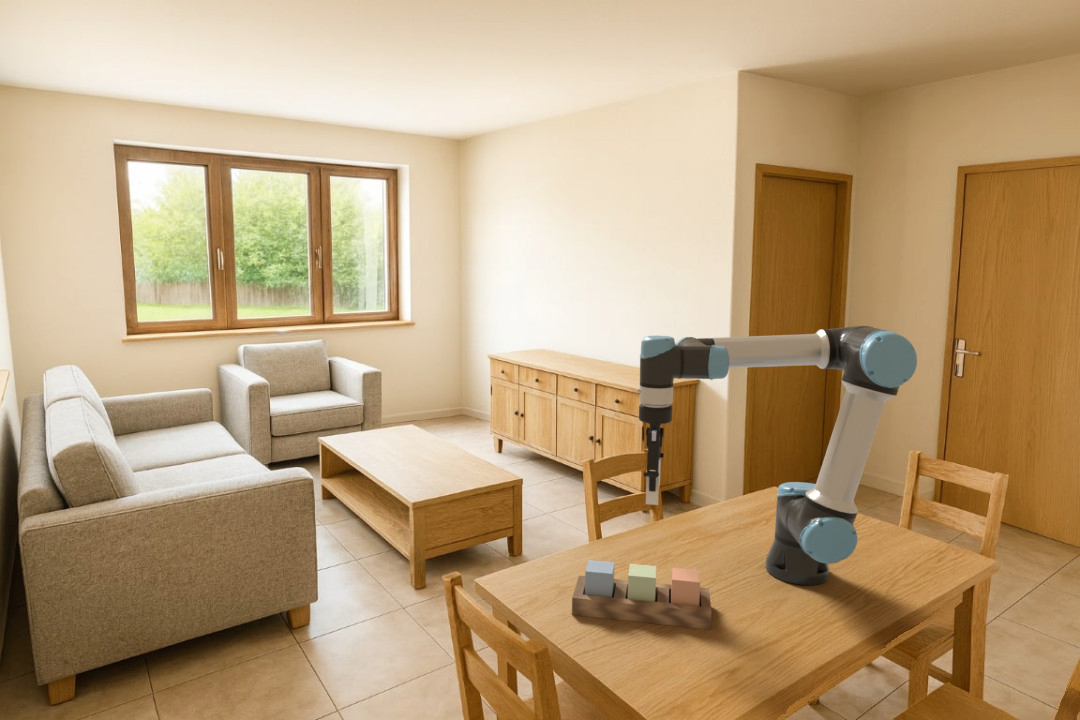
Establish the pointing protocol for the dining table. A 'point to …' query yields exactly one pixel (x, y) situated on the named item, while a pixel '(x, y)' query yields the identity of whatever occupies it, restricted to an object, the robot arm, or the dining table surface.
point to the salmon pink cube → (685, 587)
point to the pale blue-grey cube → (599, 578)
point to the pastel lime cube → (642, 582)
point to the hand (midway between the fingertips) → (653, 494)
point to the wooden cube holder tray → (642, 606)
